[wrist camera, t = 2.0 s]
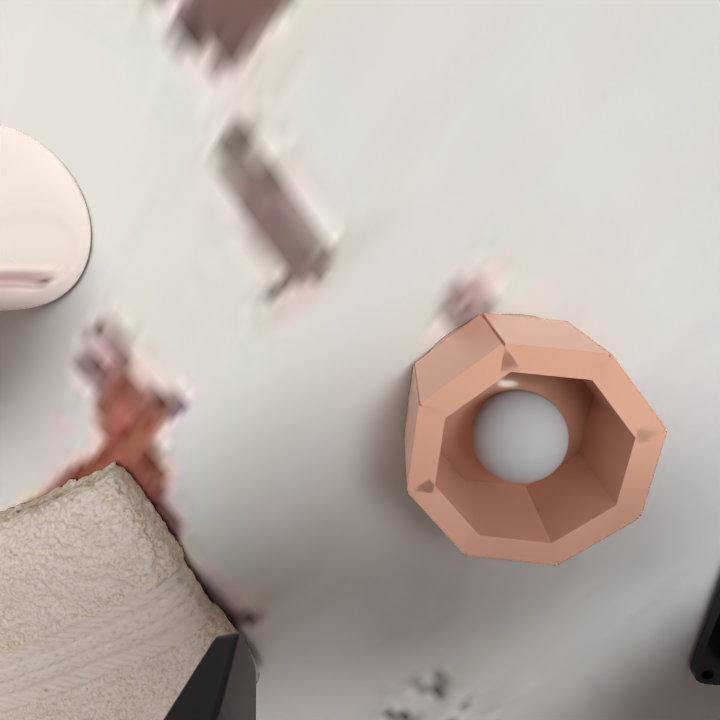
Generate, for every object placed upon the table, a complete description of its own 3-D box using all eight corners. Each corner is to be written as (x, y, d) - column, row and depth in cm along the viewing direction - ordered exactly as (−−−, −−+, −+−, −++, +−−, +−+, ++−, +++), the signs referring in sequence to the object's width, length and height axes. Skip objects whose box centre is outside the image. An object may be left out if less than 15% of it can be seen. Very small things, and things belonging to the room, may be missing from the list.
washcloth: (-180, 580, 24) (-260, 634, 21) (130, 440, 21) (87, 481, 18) (-23, 749, 27) (-73, 816, 24) (271, 651, 24) (253, 716, 21)
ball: (542, 458, 18) (570, 507, 16) (459, 449, 18) (471, 497, 16) (560, 380, 17) (593, 418, 15) (472, 371, 17) (488, 407, 15)
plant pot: (578, 499, 20) (622, 573, 16) (397, 479, 20) (399, 548, 16) (624, 324, 17) (688, 361, 14) (420, 304, 18) (428, 334, 14)
